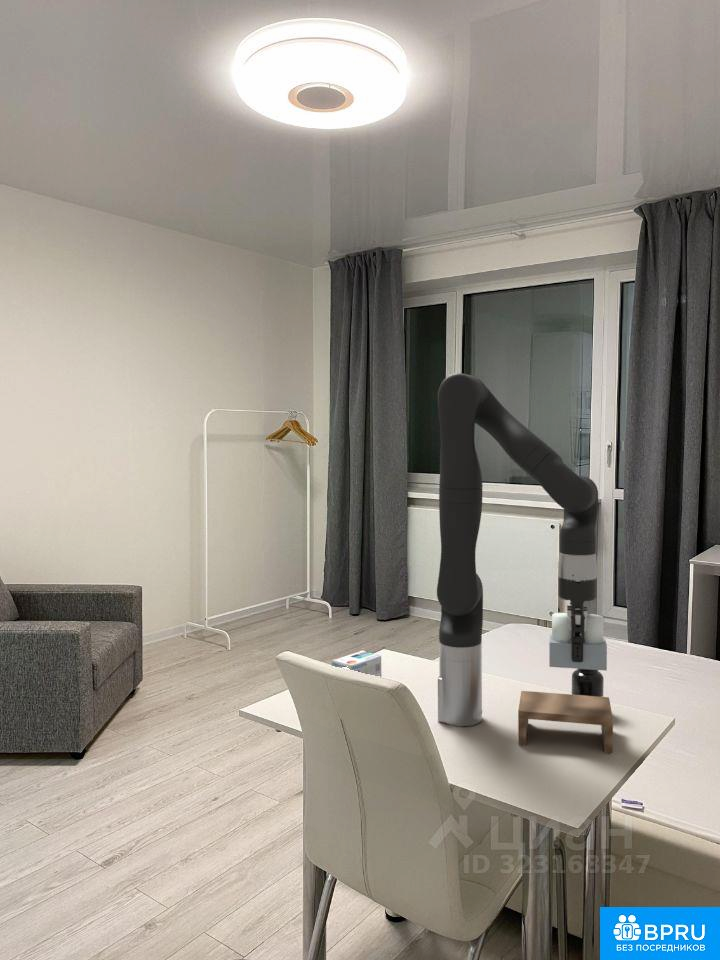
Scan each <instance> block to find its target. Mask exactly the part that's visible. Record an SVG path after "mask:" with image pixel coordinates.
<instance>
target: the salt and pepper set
mask: <svg viewBox="0 0 720 960" xmlns="http://www.w3.org/2000/svg"><path fill="white" fill-rule="evenodd" d="M570 639H571V632H570V631H569V618H568V616H567V612H555V613H552V614H551V635H549V647H548V648H549V650H548V651H549V655H548V657H549V658H548V659H549V667H550V668H561V669H575V670H577V669H590V670H598V671H608V670H607V666H608V658H607V657H608V644H607V641H606V640H607V639H606V638H605V637H604V616H602V615H600V614H593V613H588V616H587V618H586V632H585V633H584V639H585V642H584V644H583V662H573V661H572V643H571V641H570Z"/></svg>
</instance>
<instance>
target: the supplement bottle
mask: <svg viewBox="0 0 720 960" xmlns="http://www.w3.org/2000/svg"><path fill="white" fill-rule="evenodd" d="M571 673H572V674H571V695H585V696H598V697H604V681H605V680H604V675H603V674H602V673H601V671H600V670H590V669H575V670H574V671H573V672H571Z"/></svg>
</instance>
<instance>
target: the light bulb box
mask: <svg viewBox="0 0 720 960" xmlns="http://www.w3.org/2000/svg"><path fill="white" fill-rule="evenodd" d="M332 666H335V667H341V668H342V667H347V666H348V667H347V668H349V669H350V670H354V671H358V672H361V673H365V674H370V675H375V676H380V677H382V676H383V675H382V673H383V672H382V655H381V654H377V653H375V652H369V651H366V650H360V651H356V652H353V653H350V654H349V655H346V656H342V657H339V658H335V659H332V660H331V667H332Z"/></svg>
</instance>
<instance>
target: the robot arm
mask: <svg viewBox="0 0 720 960" xmlns="http://www.w3.org/2000/svg"><path fill="white" fill-rule="evenodd" d="M437 408H438V419H439V431H440V451H439V452H440V455H439V457H440V458H439V482H438V483H439V485H438V486H439V488H438V509H439V533H440V535H439V536H440V546H441V547H440V562H439V570H438V571H439V572H438V577H437V578H438V579H437V584H436V585H437V586H436V597H437V600H438V603H439V605H440V608H441V609H440V610H441V611H440V612H441V615H440V624H439V631H438V643H439V644H438V645H439V649H438V654H439V655H438V656H439V657H438V658H439V664H438V665H439V668H438V669H439V672H438V673H439V676H438V677H437V722H440V723H445V724H447V725H450V726H456V727H469V726H475V725H477V724H480V723H481V722H482V720H483V676H482V675H483V673H482V672H483V667H482V666H483V663H482V662H483V656H482V655H483V653H482V648H483V646H482V643H483V642H482V638H483V637H482V635H483V627H484V626H483V624H484V613H483V612H484V588H483V587H484V586H483V583H482V580H481V577H480V576H479V575H478V573H477V567H476V565H477V564H476V562H477V561H476V549H477V548H476V547H477V542H478V537H479V531H480V527H481V519H482V511H483V509H482V508H483V476H482V475H483V474H482V471H481V466H480V462H479V458H478V454H477V450H476V443H475V424H476V425H477V426H479V427H480V428H482V429H483V430H485V431H486V432H487V433H488V434H489V435H490V436H491V437H492V438H493V439H494V440H495V441H496V442H497V443H498V444H499V446H500V447H501V448H502V450H503V451H504V452H505V453H506V455H508V457H509V458H510V459H511V460H512V461H513V462H514V464H516V465H517V466H518V467H520V468H521V470H523V472H525V473H526V474H527V475H528V476H530V477H531V478H532V479H533V480H535V482H537V483H538V484H539V485H540V486H541V487H542V489H543V490H544V491H545V492H546V493H547V494H548V496H549V497H550V498H551V499H552V500H553V502H555V503H556V504H557V505H558V506H560V507H561V508H562V509H563V521H562V522H563V523H562V525H561V527H560V530H559V553H558V554H559V555H558V563H557V565H558V566H557V571H558V572H557V580H558V581H557V595H558V597H559V598H560V599H561V600H564V601H570V602H569V604H570V605H566V606H567V607H566V609H567V611H566V613H567V616H568V618H569V631H570V632H571V639H570V641H571V643H572V661H573V662H583V644H584V642H585V639H584V633H585V632H586V618H587V616H588V614H589V613H588V612H589V611H588V606H587V605H586V606H584V604H585V602H591V601H594V600H596V599H597V597H598V596H597V595H598V590H597V589H598V587H597V585H598V580H597V579H598V564H597V556H596V555H597V554H596V550H597V546H596V545H597V543H596V542H597V540H596V539H597V538H596V536H597V535H596V524H597V520H598V519H597V518H598V517H597V516H598V508H599V489H598V487H597V485H596V483H595V481H593V479H592V478H590V477H587V476H586V475H578V474H577V473H576V472H575V471H573V470H572V469H571V468H570V467H569V466H567V465H566V464H565V463H564V461H563V458H562V457H561V456H560V455H559V454H558V452H556V451H555V450H554V449H553V448H551V447H550V445H548V444H547V443H546V442H544V441H543V440H542V439H541V438H540V437H539V436H537V435H536V434H535V433H533V432H532V431H531V430H530V429H528V428H527V426H525V425H524V424H522V423H521V422H520V421H519V420H518V419H517V418H515V416H514V415H513V414H512V413H511V412H509V411H508V410H507V409H506V407H504V405H502V403H501V402H500V401H499V400H498V399H497V397H496V396H495V395H494V394H493V393H492V391H491V390H490V389H489V388H488V387H487V386H486V384H485V383H484V382H483V381H482V380H481V379H480V378H478V377H476V376H475V375H471V374H466V373H459V372H456V373H452V374H450V375H448V376H447V377H444V379H443V380H442V382H441V383H440V385H439V388H438V391H437Z"/></svg>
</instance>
